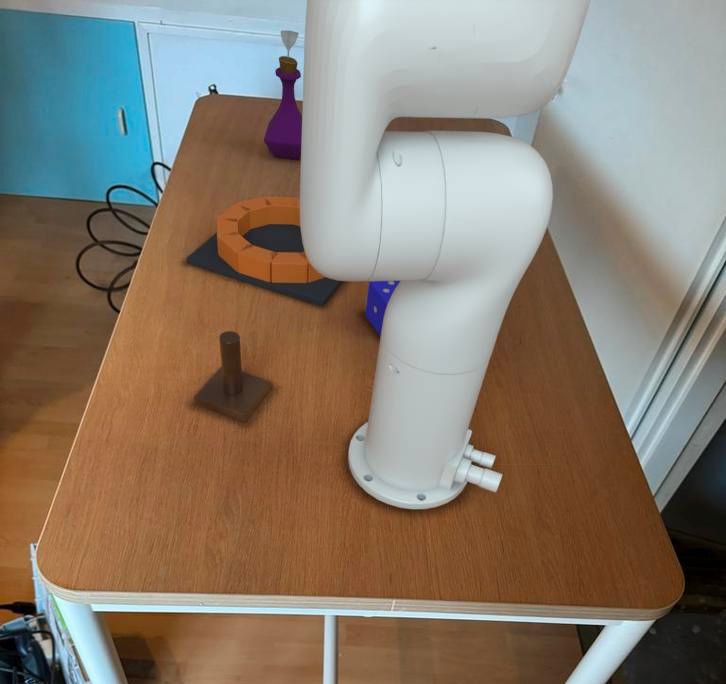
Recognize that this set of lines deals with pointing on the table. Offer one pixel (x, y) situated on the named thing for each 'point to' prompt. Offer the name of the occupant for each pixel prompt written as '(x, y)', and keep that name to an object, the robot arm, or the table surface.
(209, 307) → the table surface
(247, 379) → the stand
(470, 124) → the table surface
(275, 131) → the perfume bottle
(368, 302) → the die
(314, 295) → the mat
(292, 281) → the ring
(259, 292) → the table surface
